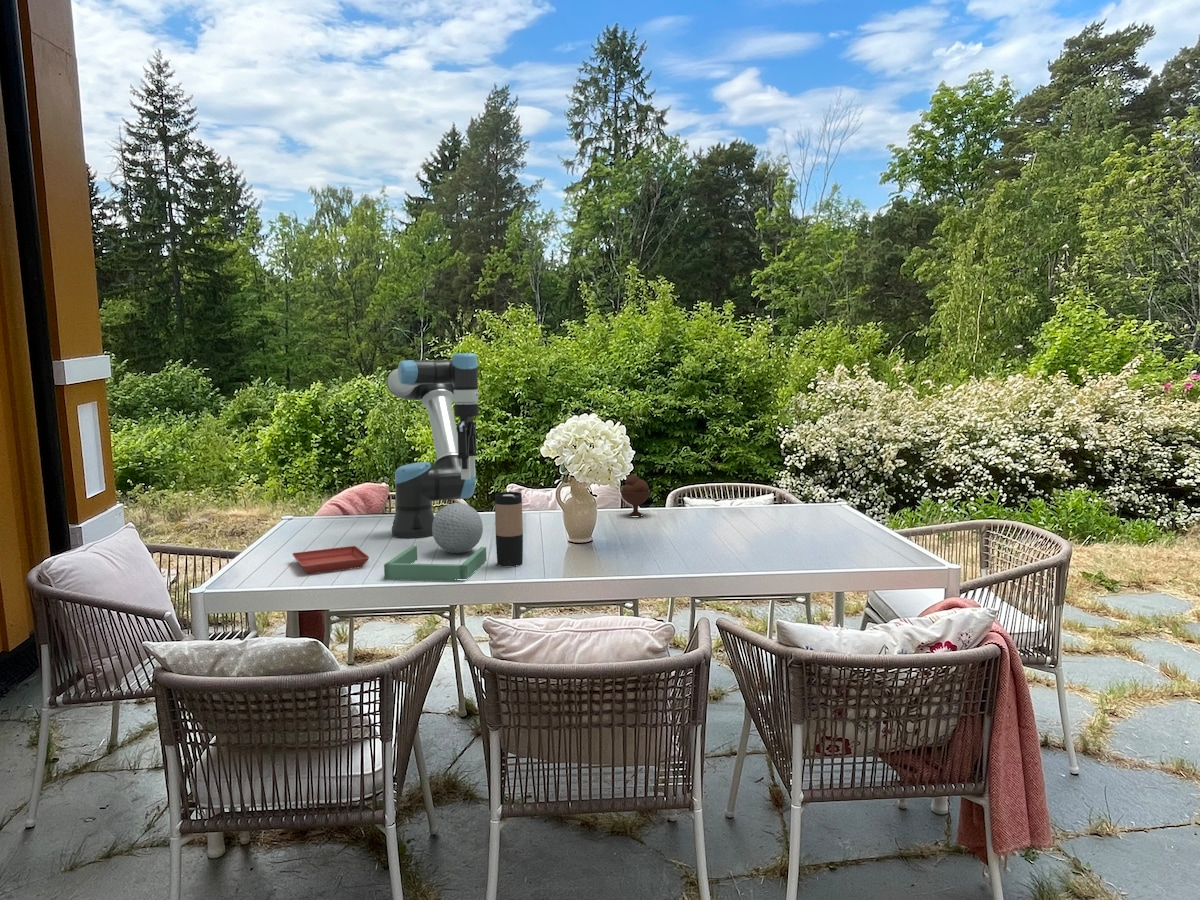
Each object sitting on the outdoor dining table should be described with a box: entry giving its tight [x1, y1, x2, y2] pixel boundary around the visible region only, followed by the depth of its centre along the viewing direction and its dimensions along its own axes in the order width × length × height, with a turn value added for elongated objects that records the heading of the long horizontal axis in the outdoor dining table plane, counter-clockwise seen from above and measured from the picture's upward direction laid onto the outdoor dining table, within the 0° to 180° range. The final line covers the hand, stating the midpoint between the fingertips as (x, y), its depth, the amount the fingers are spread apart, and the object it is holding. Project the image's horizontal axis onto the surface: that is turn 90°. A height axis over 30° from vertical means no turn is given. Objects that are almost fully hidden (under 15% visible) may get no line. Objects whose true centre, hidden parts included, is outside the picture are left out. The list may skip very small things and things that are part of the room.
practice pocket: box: [383, 545, 487, 581], centre depth 224 cm, size 22×22×4 cm
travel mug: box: [494, 491, 524, 567], centre depth 229 cm, size 8×8×20 cm
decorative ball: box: [432, 502, 484, 554], centre depth 243 cm, size 15×15×15 cm
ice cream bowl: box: [620, 474, 651, 517], centre depth 297 cm, size 11×11×15 cm
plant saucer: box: [291, 545, 370, 575], centre depth 231 cm, size 18×18×3 cm
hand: (468, 477), depth 255 cm, fingers open, 5 cm apart
